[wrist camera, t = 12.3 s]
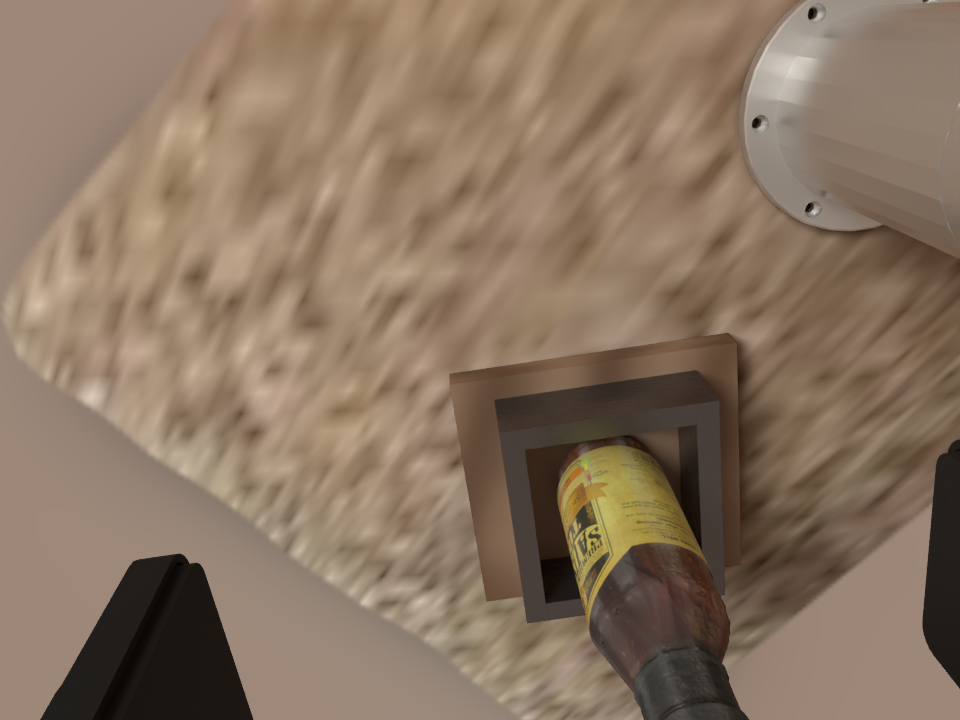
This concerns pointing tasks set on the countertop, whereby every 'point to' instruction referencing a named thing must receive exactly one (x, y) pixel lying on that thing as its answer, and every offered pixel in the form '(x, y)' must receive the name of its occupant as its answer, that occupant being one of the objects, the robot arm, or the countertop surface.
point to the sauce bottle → (645, 582)
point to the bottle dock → (589, 416)
